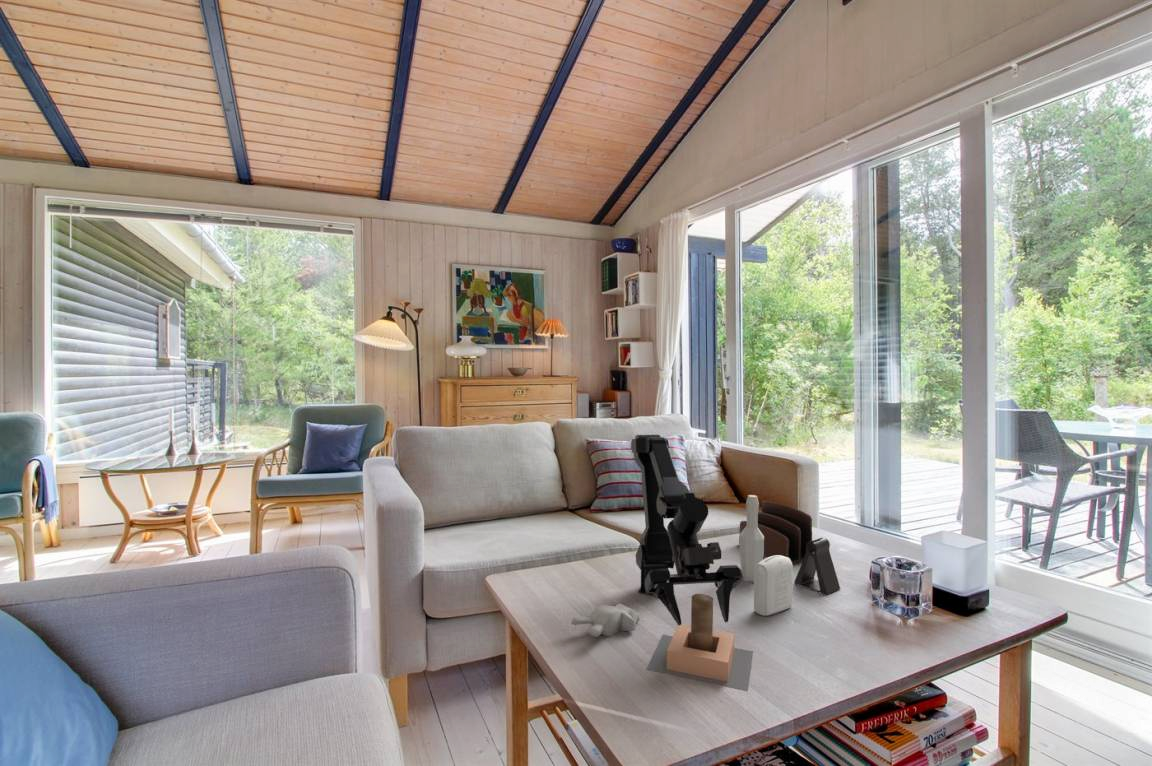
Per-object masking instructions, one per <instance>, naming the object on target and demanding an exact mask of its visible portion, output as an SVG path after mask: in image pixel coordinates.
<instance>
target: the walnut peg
mask: <svg viewBox="0 0 1152 766" xmlns="http://www.w3.org/2000/svg"><path fill="white" fill-rule="evenodd" d="M690 613H691V616H690V617H691V618H690V619H691V620H690V626H691V648H692V649H698V650H703V651H708V652H712V639H713V629H714V625H713V624H714V622H713V621H714V598H713V597H712V596H711V595H709V594H705V593H694V594H692V596H691V612H690Z"/></svg>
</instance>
